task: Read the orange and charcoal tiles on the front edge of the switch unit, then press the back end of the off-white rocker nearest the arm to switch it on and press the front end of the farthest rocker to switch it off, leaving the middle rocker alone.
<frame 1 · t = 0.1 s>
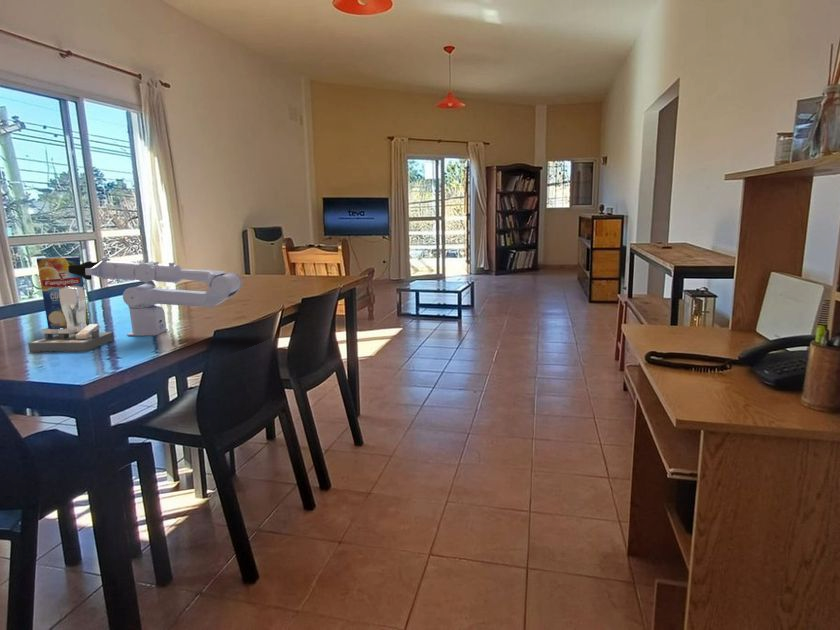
hand: (77, 267, 163), 22 cm above the table, tool horizontal, fingers open, 7 cm apart
rocker near: (87, 331, 152), point 4 cm above the table, hinge at -15.0°
juice carton: (69, 326, 180), on the table
rocker far: (54, 331, 152), point 4 cm above the table, hinge at 15.0°
switch unit: (73, 345, 153), on the table
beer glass: (77, 333, 170), on the table
rocker middle: (71, 331, 152), point 4 cm above the table, hinge at 15.0°
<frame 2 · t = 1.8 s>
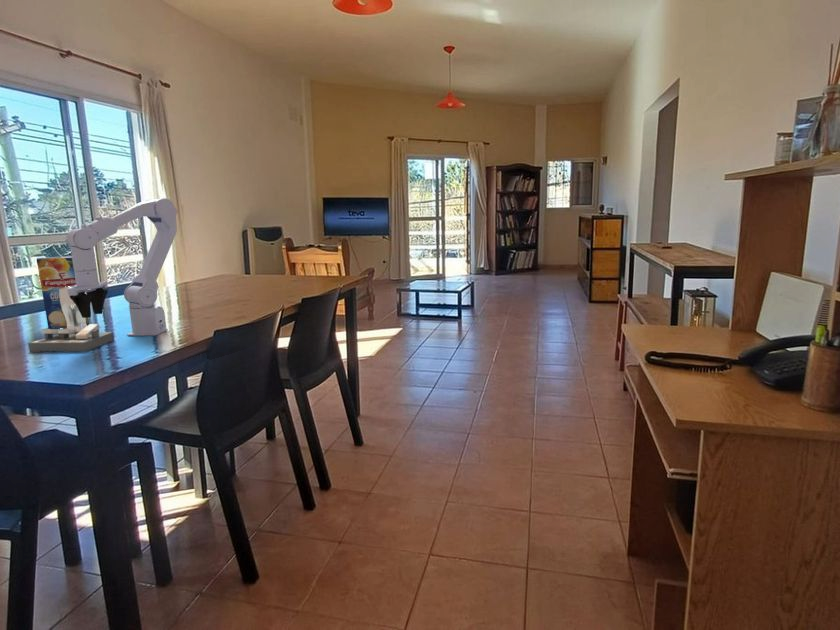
hand: (92, 315, 154), 8 cm above the table, tool pointing down, fingers open, 5 cm apart
nothing on the table moved.
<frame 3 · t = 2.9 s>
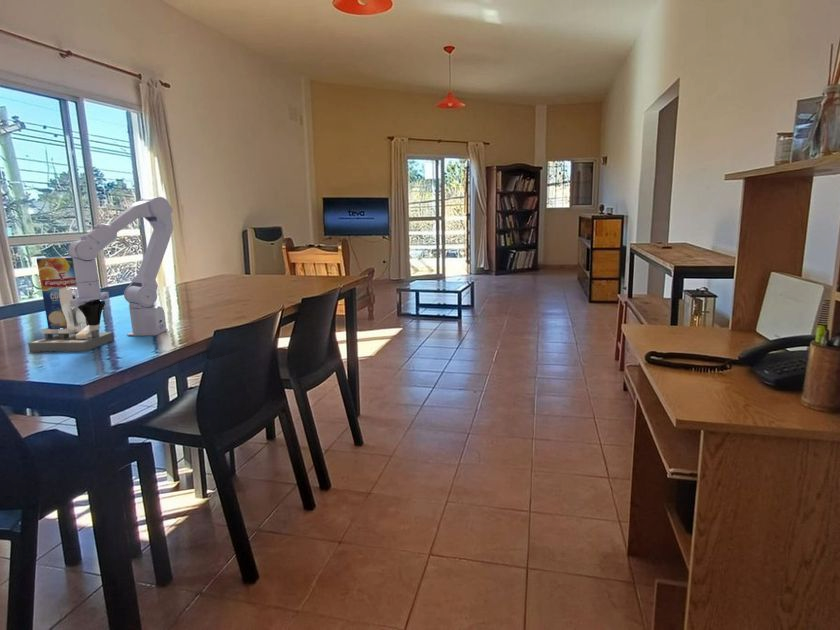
hand: (94, 326, 155), 5 cm above the table, tool pointing down, fingers closed, pressing on rocker near
rocker near: (87, 331, 152), point 4 cm above the table, hinge at -14.8°, touching gripper
everything else where it was.
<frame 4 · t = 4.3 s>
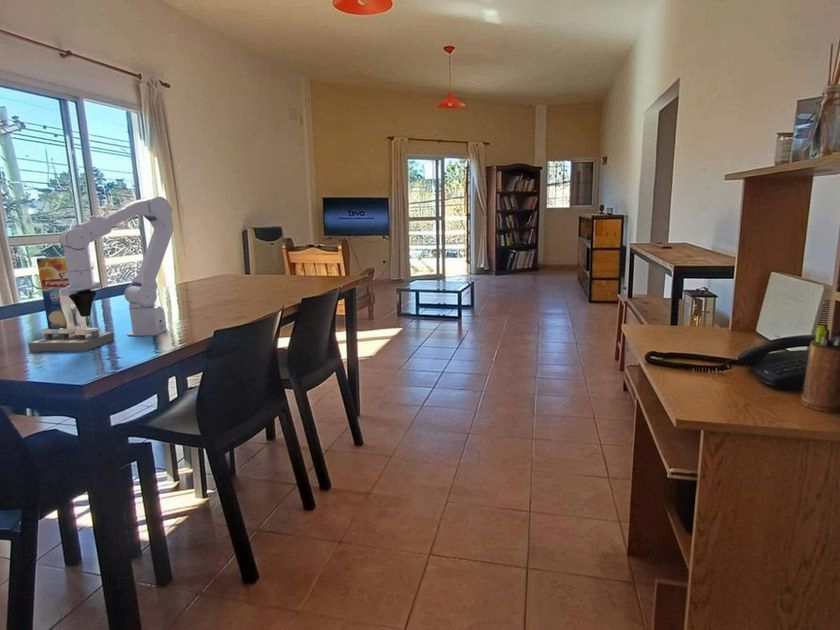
hand: (85, 316, 153), 8 cm above the table, tool pointing down, fingers closed
rocker near: (87, 331, 152), point 4 cm above the table, hinge at 6.2°
everything else where it was.
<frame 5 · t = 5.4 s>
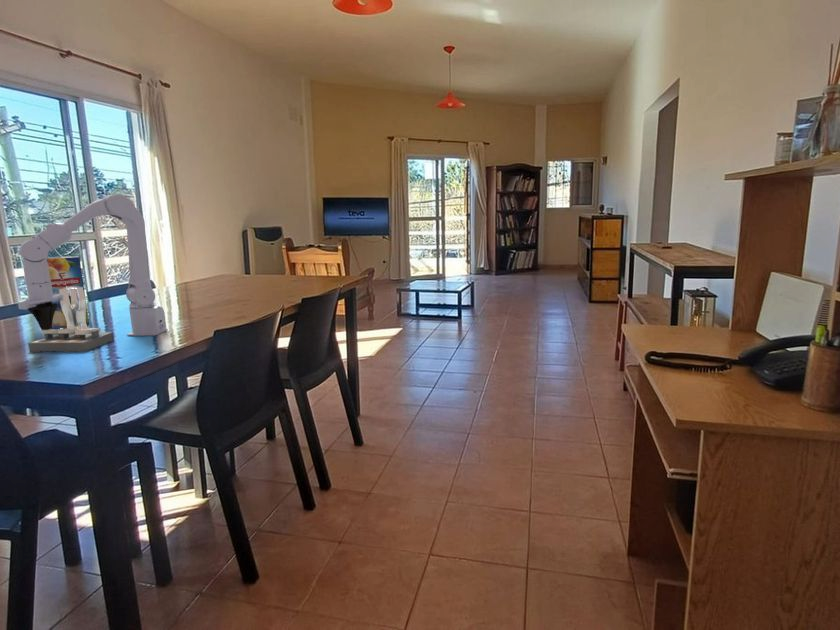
hand: (46, 329, 149), 6 cm above the table, tool pointing down, fingers closed, pressing on rocker far
rocker near: (87, 331, 152), point 4 cm above the table, hinge at 7.9°
rocker far: (54, 331, 152), point 4 cm above the table, hinge at 15.0°, touching gripper
everything else where it was.
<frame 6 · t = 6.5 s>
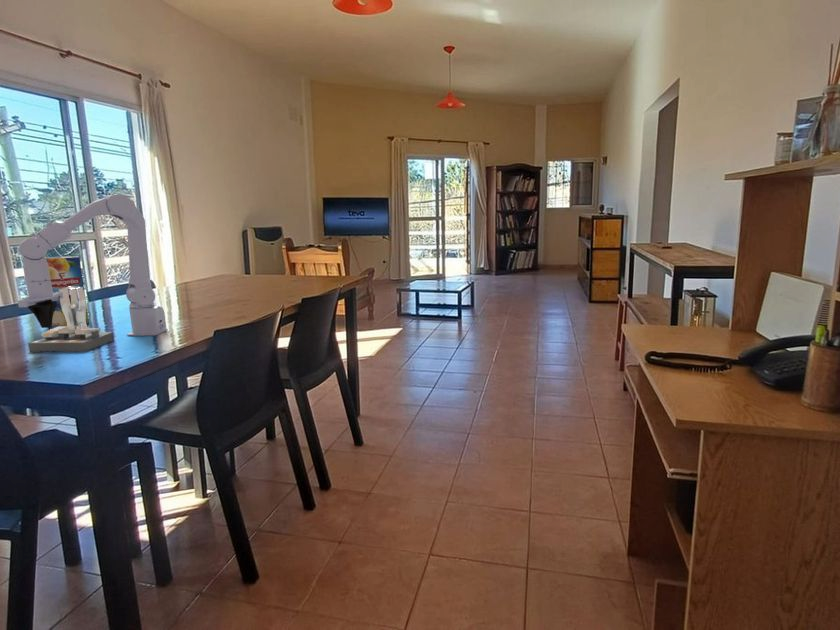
hand: (46, 327, 149), 6 cm above the table, tool pointing down, fingers closed
rocker near: (87, 331, 152), point 4 cm above the table, hinge at 8.9°
rocker far: (54, 331, 152), point 4 cm above the table, hinge at -3.6°
everything else where it was.
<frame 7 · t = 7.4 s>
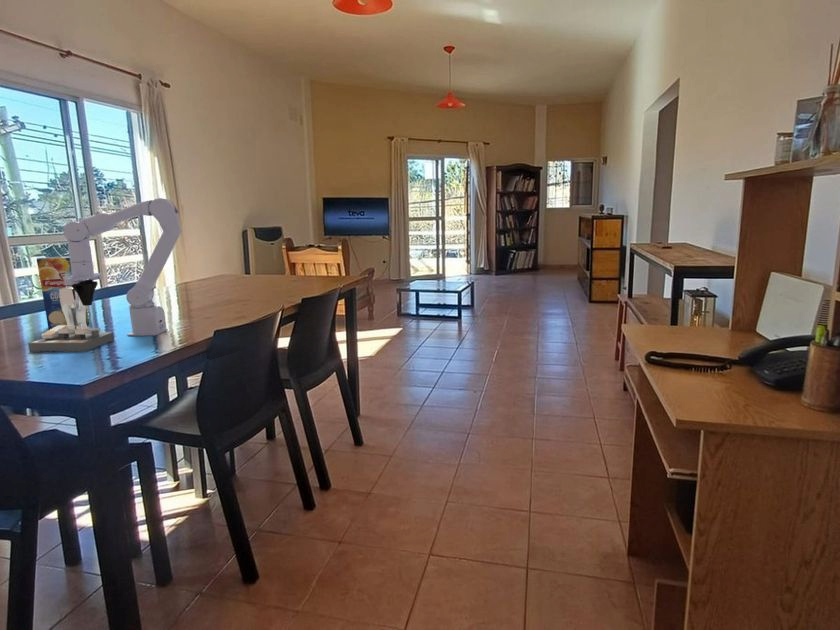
hand: (87, 305, 160), 10 cm above the table, tool pointing down, fingers closed
rocker near: (87, 331, 152), point 4 cm above the table, hinge at 9.3°
rocker far: (54, 331, 152), point 4 cm above the table, hinge at -9.7°
everything else where it was.
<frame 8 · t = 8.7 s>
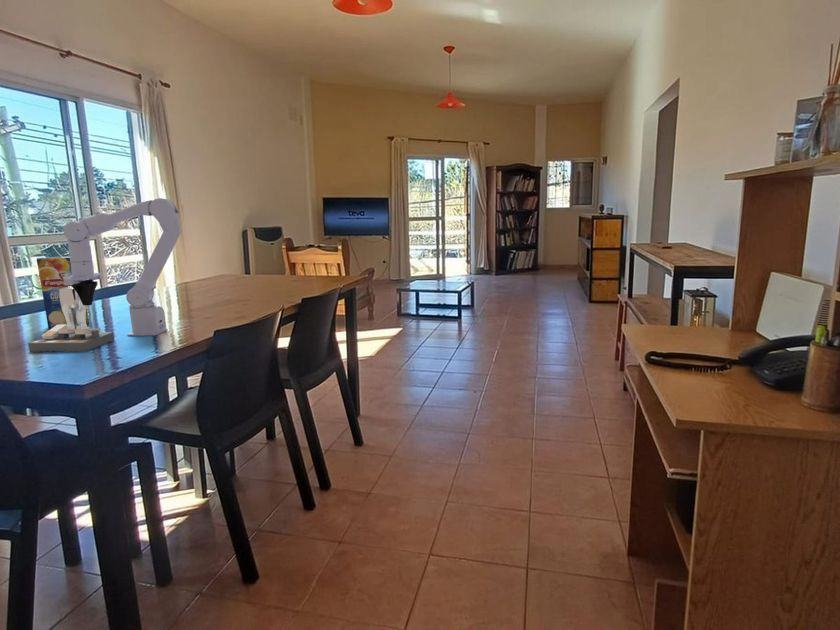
hand: (87, 305, 160), 10 cm above the table, tool pointing down, fingers closed
rocker near: (87, 331, 152), point 4 cm above the table, hinge at 9.7°
rocker far: (54, 331, 152), point 4 cm above the table, hinge at -14.5°
everything else where it was.
at the end: rocker near at +10° (first picture: -15°); rocker middle at +15° (first picture: +15°); rocker far at -15° (first picture: +15°) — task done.
